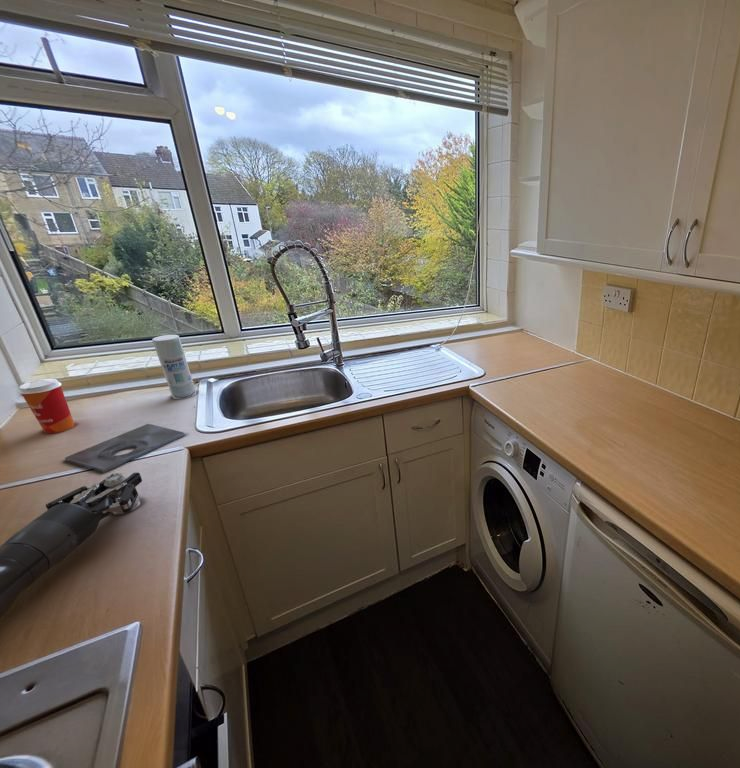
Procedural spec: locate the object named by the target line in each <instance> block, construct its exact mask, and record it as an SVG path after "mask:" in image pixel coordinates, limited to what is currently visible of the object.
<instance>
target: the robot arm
mask: <svg viewBox="0 0 740 768" xmlns="http://www.w3.org/2000/svg"><path fill="white" fill-rule="evenodd" d="M113 474H114V473H112V474H110V475H109V476H111V477H113ZM115 474H117V475H118V474H119V473H115ZM106 478H107V477H106ZM107 479H108V478H107ZM142 482H143V479H142V475H141V473H140V472H133V473H132V474H130V475H128V476H127V477H126V479H125V480H124V481H123V482H121V484H119V485H118V486H116V487H114V488H113V489H109V487H107V486H105V485H104V483H105V479H103V480H101V481H100V482H99V483H94V484H92V485H91V486H90V487H87V486H81V487H78V488H76V489H74V490H72V491H71V492H68V493H66V494H64V495H62V496H60V497H58V498H55V499H54V500H52V501H50V502H48V503H45V507H46V511H44V512H43V513H41V515H39V516H38V517H36V518H35V519H33V520H32V521H31V522H29V523H28V524H26V525H25V526H24V527H22V528H20V529H19V530H18V531H16V532H15V533H13V534H12V535H11V536H10V537H9V538H8V539H7V540H5V542H4V543H3V544H1V545H0V621H2V619H3V618H4V616H5V615H6V614H7V613H8V611H9V610H10V609H11V607H12V606H13V605H14V604H15V602H16V601H17V599H18V598H19V596H20V595H21V594H22V593H23V592H25V591H26V590H27V589H28V588H29V587H31V586H32V585H33V584H34V583H35V582H36V581H37V580H39V579H40V578H41V577H42V576H44V574H45V573H46V572H48V571H49V570H50V569H53V568H54V567H55V566H56V565H58V564H59V563H61V562H62V561H63V560H64V559H65V558H67V557H68V556H69V555H70V554H71V553H73V551H74V550H76V549H77V548H79V546H81V545H82V544H83V543H84V542H85V541H86V540H88V538H89V537H91V536H92V535H93V534H94V533H95V532H96V530H97V529H98V526H99V524H100V521H102V520H103V519H105V518H107V517H109V516H110V515H111V514H113V512H114V511H118V510H122V511H123V513H124V514H127V513H129V511H130V512H132V511H133V510H132V508H133V505H134V503H135V501H136V499H137V497H138V498H139V493H138V491H137V490H138V489H137V488H136V487H138V486H139V485H140V484H141V483H142ZM120 490H121V494H120V495H118V491H120ZM131 510H132V511H131Z"/></svg>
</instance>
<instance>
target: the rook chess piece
mask: <svg viewBox="0 0 740 768" xmlns="http://www.w3.org/2000/svg"><path fill="white" fill-rule="evenodd" d="M112 474H113V477H111V476H110V475H108V476H106V478H104V480H105V483H104V485H105V486H107V487H109V489H113V488H114V487H116V486H118V485H119V484H121V482H123V481H124V480H125V479H127V476H125V475H123V473H120V472H119V473H118V475H117V474H116V473H112ZM107 478H108V479H107ZM120 494H121V490H120V491H118V495H120ZM140 505H141V501H140V498H139V496H138V497H137V499H136V501H135V503H134V505H133V508H132V510H131V511H129V512H132V511H134V510H135V509H137V508H138V507H139V506H140ZM129 512H128V513H129ZM112 514H114V515H124V514H125V513H123V511H122V510H118V511H114V512H112Z"/></svg>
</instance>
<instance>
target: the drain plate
mask: <svg viewBox="0 0 740 768" xmlns="http://www.w3.org/2000/svg"><path fill="white" fill-rule="evenodd" d="M182 437H185V433H184V431H181V430H180V431H179V430H175V429H172V428H167V427H163V426H159V425H154V424H151V423H146V424H144V425H141V426H139V427H136V428H134V429H131V430H129V431H126V432H124V433H121V434H118V435H117V436H114V437H111V438H110V439H107V440H104V441H102V442H99V443H96V444H95V445H92V446H90V447H87V448H85V449H83V450H80V451H78V452H75V453H73V454H70V455H68V456H65V457H64V459H65V461H66V462H68V463H71V464H75V465H77V466H81V467H85V468H87V469H91V470H94V471H97V472H100V473H104V474H105V473H107V472H109V471H111V470H113V469H117V468H118V467H120V466H122V465H124V464H127V463H128V462H131V461H134V460H135V459H137V458H139V457H142V456H143V455H146V454H148V453H150V452H152V451H154V450H156V449H158V448H162V447H163V446H166V445H167V444H169V443H172V442H174V441H177V440H178V439H180V438H182ZM130 448H131V449H133V448H135V449H133V450H132V451H129V452H126V453H123V454H118V455H114V454H115V453H117V452H119V451H123V450H125V449H130Z"/></svg>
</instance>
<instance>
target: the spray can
mask: <svg viewBox="0 0 740 768" xmlns="http://www.w3.org/2000/svg"><path fill="white" fill-rule="evenodd" d="M151 340H152V344H153V346H154V350H155V353H156V355H157V357H158V360H159V363H160V367H161V370H162V372H163V375H164V377H165V380H166V383H167V386H168V389H169V392H170V395H171V397H172V399H174V400H183V399H188V398H191V397H193V396H195V395H197V390H196V387H195V383H194V379H193V377H192V374H191V371H190V368H189V364H188V361H187V357H186V354H185V351H184V347H183V344H182V341H181V338H180V335H178V334H164V335H159V336H156V337H153V338H152V339H151Z"/></svg>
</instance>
